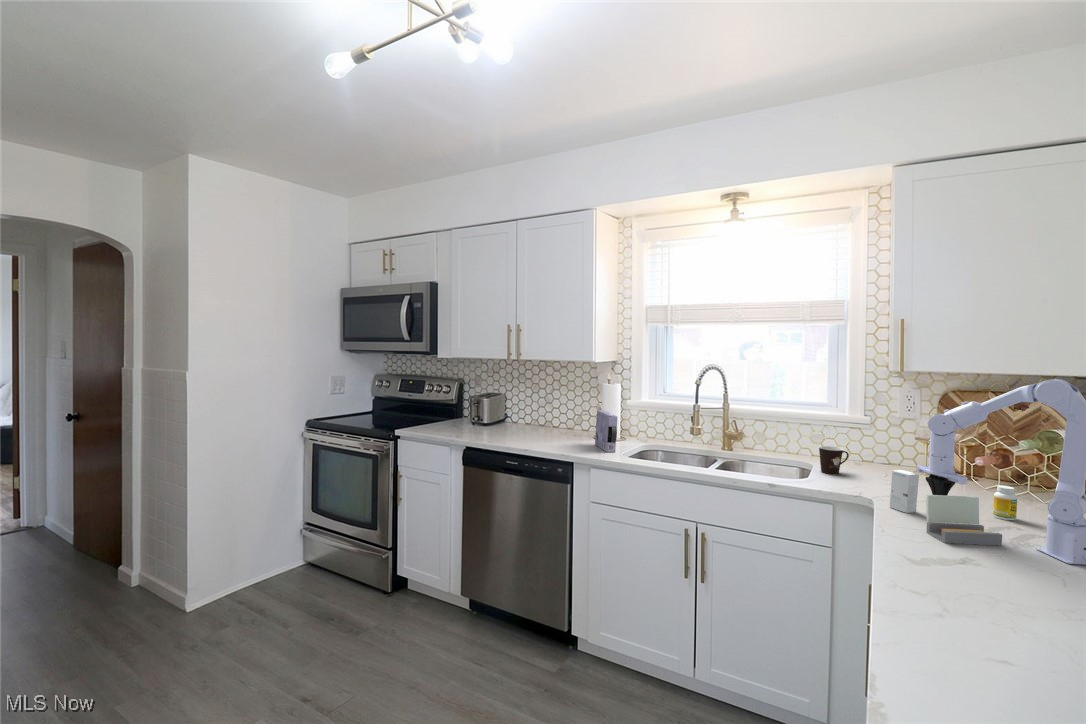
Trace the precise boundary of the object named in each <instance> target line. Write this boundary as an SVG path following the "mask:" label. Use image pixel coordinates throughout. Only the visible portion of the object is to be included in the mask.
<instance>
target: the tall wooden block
mask: <svg viewBox="0 0 1086 724" xmlns="http://www.w3.org/2000/svg"><path fill="white" fill-rule="evenodd" d="M942 530H946V531H967V532H983V531H981V530H963V529H942ZM941 534H942V532H941Z"/></svg>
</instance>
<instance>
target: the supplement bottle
mask: <svg viewBox="0 0 1086 724" xmlns="http://www.w3.org/2000/svg"><path fill="white" fill-rule="evenodd" d="M1015 492H1016V489H1015V487H1012V486H1008V485H1003V484H1002V485H1000V484H999V485H997V487H996V492H994V494H993V508H992V516H993V517H994V518H996V519H998V518H999V520H1002V519H1003V520H1004V521H1008V520H1014V521H1016V520H1017V510H1018V509H1017V508H1018V507H1017V506H1018V496H1017V495H1016V494H1015Z"/></svg>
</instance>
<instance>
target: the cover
mask: <svg viewBox="0 0 1086 724" xmlns="http://www.w3.org/2000/svg"><path fill="white" fill-rule="evenodd" d="M925 498H926V499H925V501H926V523H927V522H931V523H953V524H975V525H980V497H978V496H969V495H968V496H965V495H961V496H960V495H947V496H943V495H932V494H926V497H925Z"/></svg>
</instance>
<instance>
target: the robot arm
mask: <svg viewBox="0 0 1086 724" xmlns="http://www.w3.org/2000/svg"><path fill="white" fill-rule="evenodd" d="M1037 402H1039V403H1041V404H1043V405H1045V406H1047V407H1049V408H1052V409H1054V410H1055V411H1056V412H1057V413H1058V414H1060V415H1061V416H1062V417H1063V418H1064V419H1066V424H1065V430H1064V431H1065V432H1064V438H1063V446H1062V451H1061V458H1060V459H1061V460H1060V466H1059V472H1058V480H1057V484H1056V487H1055V490H1054V491H1055V492H1054V496H1053V497H1052V498H1051V500H1050V501H1048V504H1047V510H1048V513H1049V514H1047V518H1046V520H1047V521H1046V539H1045V546H1044V547H1042V546H1041V547H1040V546H1036V547H1035V550H1037V551H1039V552H1041V553H1043V554H1046V555H1048V556H1051V557H1052V558H1055V559H1057V560H1060V561H1062V562H1064V563H1066V564H1068V565H1085V566H1086V518H1085V516H1084V515H1085V514H1086V398H1085V397H1084V396H1083V395H1082V393H1081V391H1080V390H1079V388H1078V387H1076V386H1075V385H1073V384H1072V383H1070V382H1068V381H1066V380H1064V379H1060V378H1051V379H1047V380H1046V379H1045V380H1042V381H1041V382H1037V383H1032V384H1029V385H1024V386H1020V387H1017V388H1015V389H1013V390H1010V391H1008V392H1005V393H1003V394H999V395H997V396H995V397H993V398H990V399H988V400H986V401H983V402H978V401H974V400H973V401H970V402H969V401H967V400H966V401H963V402H961V405H959V406H956V407H953V408H952V409H949V408H947V409H945V410H943V413H938V414H934V415H933V416H932V417H931V418H930V417H929V419H928V422H927V427H928V429H929V431H930V437H929V438H930V439H929V450H928V451H929V452H928V466H927V465H923V464H921V465H920V464H919V465H915V467H916V468H915V469H916V470H915V472H917V473H922V474H926V475H929V476H925V480H926V483H927V484H928V487H929V489H930V491H931V495H943V496H949V495H948V494H949V492H950V491H951V489H952V488H953V487H954V485H956V483H957V484H959V485H968V477H967V476H964V475H961V474H958V473H957V472H956V471H955V470H954V468H955V467H954V464H955V449H956V448H955V447H956V446H955V445H956V444H955V443H956V441H955V436H956V434H955V433H956V431H957V430H962V429H965V428H968V427H970V426H973V425H975V424H978V423H982V422H984V421H986V420H987V418H988V415H989V414H991V413H993V412H995V411H998V410H1002V409H1004V408H1005V409H1006V408H1008V407H1010V406H1013V405H1016V404H1019V403H1037Z"/></svg>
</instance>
